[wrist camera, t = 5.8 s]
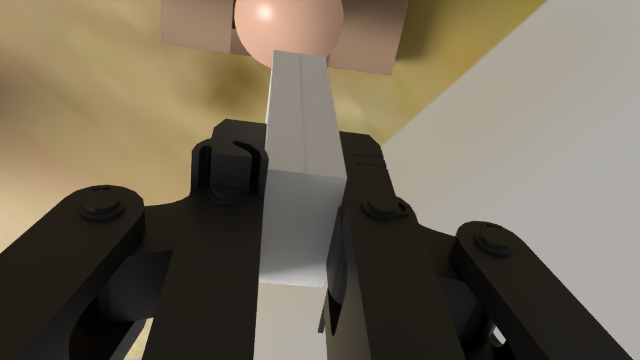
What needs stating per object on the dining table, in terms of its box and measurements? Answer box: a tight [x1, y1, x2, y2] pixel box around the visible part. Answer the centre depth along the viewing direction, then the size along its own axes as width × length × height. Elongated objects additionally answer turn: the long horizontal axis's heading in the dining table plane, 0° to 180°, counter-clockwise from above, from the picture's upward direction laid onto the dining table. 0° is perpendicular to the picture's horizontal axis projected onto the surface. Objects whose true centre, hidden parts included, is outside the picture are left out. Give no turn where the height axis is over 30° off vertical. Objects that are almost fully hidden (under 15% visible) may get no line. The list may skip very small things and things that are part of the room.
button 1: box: [234, 0, 344, 68], centre depth 25 cm, size 5×5×7 cm
